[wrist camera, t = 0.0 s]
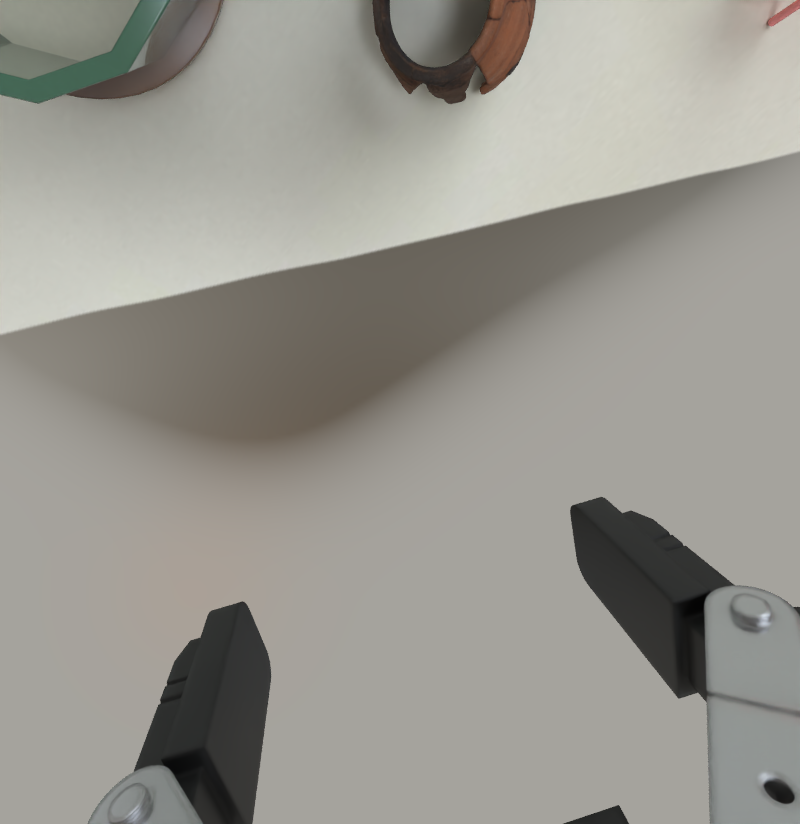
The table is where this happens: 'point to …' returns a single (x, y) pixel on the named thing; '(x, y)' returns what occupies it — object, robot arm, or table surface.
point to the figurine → (784, 13)
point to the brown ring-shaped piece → (490, 53)
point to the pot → (81, 42)
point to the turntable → (167, 67)
